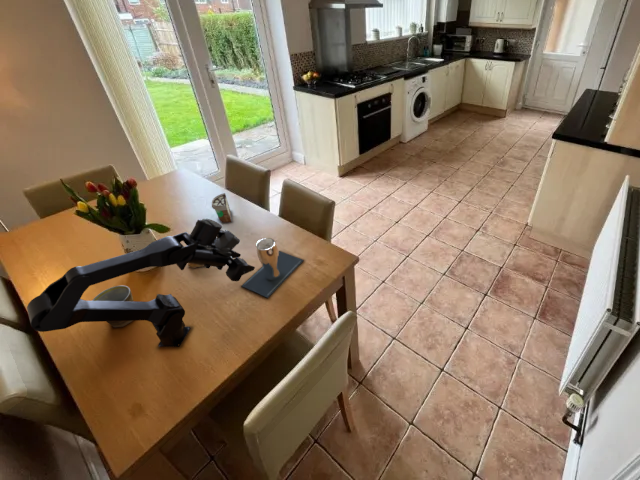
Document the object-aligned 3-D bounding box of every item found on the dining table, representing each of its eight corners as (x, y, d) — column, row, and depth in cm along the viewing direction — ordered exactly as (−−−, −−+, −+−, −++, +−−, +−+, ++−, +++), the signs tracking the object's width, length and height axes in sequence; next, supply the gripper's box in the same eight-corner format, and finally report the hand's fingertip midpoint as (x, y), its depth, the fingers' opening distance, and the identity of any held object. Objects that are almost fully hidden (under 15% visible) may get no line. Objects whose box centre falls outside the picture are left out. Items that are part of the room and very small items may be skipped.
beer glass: (260, 273, 117) (252, 242, 109) (278, 264, 121) (271, 234, 113) (268, 284, 113) (259, 253, 105) (286, 275, 116) (279, 244, 108)
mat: (267, 298, 108) (267, 297, 108) (241, 286, 112) (241, 285, 112) (303, 260, 124) (303, 259, 123) (279, 251, 128) (279, 250, 128)
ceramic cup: (137, 300, 107) (124, 280, 102) (147, 316, 102) (134, 296, 96) (89, 326, 99) (72, 306, 93) (98, 346, 93) (81, 325, 88)
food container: (216, 212, 150) (210, 195, 145) (230, 209, 152) (225, 192, 147) (216, 227, 141) (210, 209, 136) (231, 224, 143) (225, 206, 138)
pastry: (191, 272, 118) (187, 265, 116) (187, 262, 122) (184, 255, 120) (217, 261, 123) (214, 254, 121) (213, 252, 127) (210, 245, 125)
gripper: (233, 244, 89) (274, 253, 102) (203, 218, 99) (244, 229, 112) (213, 280, 88) (257, 284, 101) (185, 250, 98) (229, 257, 111)
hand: (247, 261), depth 107 cm, fingers open, 9 cm apart
